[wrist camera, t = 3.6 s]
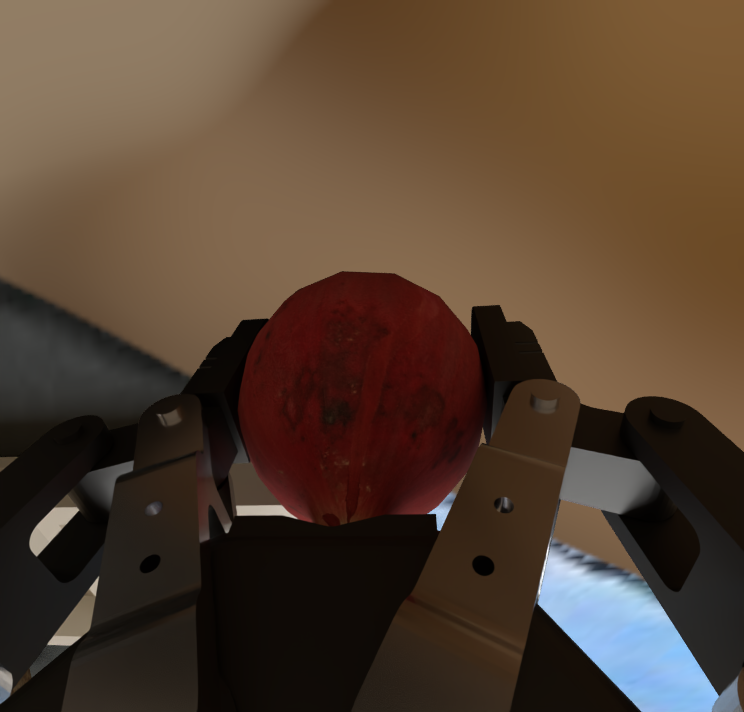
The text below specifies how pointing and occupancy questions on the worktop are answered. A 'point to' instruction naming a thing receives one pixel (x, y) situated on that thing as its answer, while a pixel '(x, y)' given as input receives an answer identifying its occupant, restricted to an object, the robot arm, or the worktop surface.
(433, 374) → the onion
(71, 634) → the well holder
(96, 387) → the worktop surface
